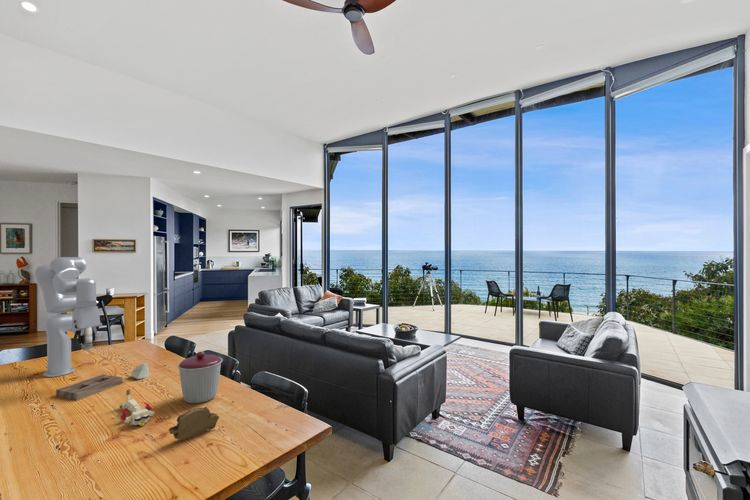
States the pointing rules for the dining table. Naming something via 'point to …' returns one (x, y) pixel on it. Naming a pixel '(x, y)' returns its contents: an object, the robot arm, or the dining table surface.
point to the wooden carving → (194, 423)
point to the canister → (200, 377)
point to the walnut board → (89, 387)
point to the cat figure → (135, 411)
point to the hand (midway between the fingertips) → (86, 341)
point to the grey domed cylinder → (87, 339)
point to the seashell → (141, 371)
